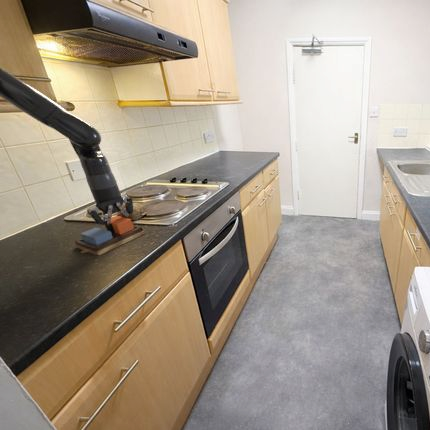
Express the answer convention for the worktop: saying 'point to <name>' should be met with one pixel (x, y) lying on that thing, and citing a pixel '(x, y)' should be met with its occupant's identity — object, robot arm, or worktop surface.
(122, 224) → the terracotta pad
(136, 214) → the bread roll
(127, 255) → the worktop surface
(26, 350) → the worktop surface
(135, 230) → the brown wooden tray
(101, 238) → the blue bevelled block
